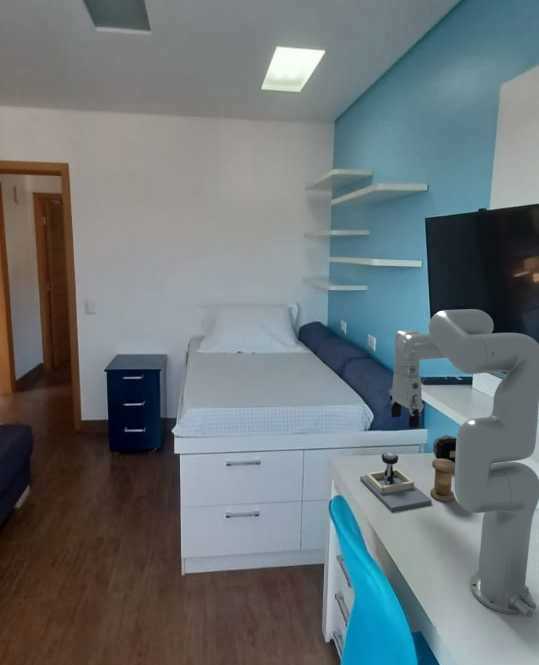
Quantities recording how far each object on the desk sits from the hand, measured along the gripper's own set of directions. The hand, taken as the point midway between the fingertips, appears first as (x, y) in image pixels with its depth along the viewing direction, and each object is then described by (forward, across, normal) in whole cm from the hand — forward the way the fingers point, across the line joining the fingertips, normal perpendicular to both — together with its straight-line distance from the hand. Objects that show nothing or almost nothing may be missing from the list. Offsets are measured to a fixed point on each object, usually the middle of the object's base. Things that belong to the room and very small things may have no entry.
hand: (404, 421), depth 149 cm
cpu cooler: (+23, +10, -26) cm, 36 cm away
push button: (+22, +3, +3) cm, 23 cm away
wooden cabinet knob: (+23, -8, -10) cm, 26 cm away
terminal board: (+23, 0, +3) cm, 23 cm away
